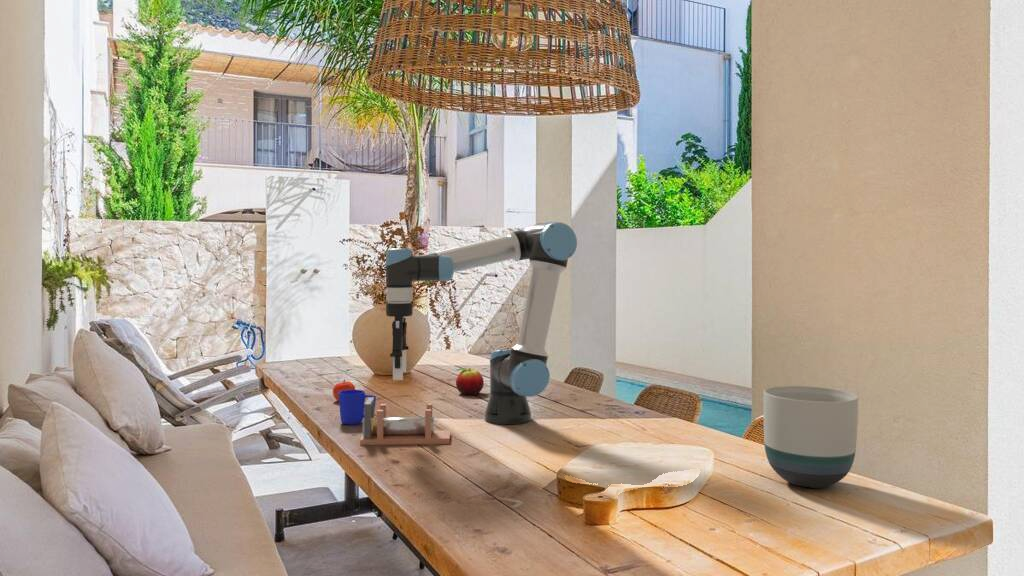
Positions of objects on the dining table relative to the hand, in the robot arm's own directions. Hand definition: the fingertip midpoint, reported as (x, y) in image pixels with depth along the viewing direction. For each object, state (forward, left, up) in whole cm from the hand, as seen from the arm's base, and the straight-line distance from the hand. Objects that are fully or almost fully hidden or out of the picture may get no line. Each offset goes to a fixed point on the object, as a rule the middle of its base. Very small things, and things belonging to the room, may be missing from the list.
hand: (399, 375), depth 212 cm
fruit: (-21, -71, -19) cm, 76 cm away
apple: (+25, -59, -19) cm, 67 cm away
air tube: (0, -1, -17) cm, 17 cm away
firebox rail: (-2, 0, -19) cm, 19 cm away
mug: (+15, -22, -19) cm, 32 cm away
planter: (-99, +47, -19) cm, 111 cm away
